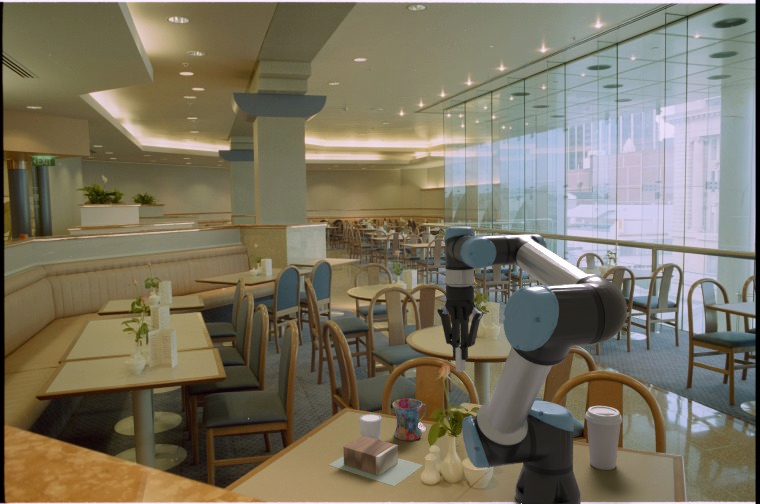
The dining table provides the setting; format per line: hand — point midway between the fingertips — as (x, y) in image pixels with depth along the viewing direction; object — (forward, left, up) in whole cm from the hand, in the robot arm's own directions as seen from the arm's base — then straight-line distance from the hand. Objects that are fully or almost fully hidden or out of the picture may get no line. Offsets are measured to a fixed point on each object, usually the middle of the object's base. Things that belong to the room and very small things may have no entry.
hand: (460, 370), depth 159 cm
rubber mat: (+19, +14, -26) cm, 35 cm away
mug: (+22, -9, -27) cm, 36 cm away
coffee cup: (-32, -21, -27) cm, 47 cm away
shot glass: (+31, 0, -27) cm, 41 cm away
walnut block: (+15, +14, -23) cm, 31 cm away
